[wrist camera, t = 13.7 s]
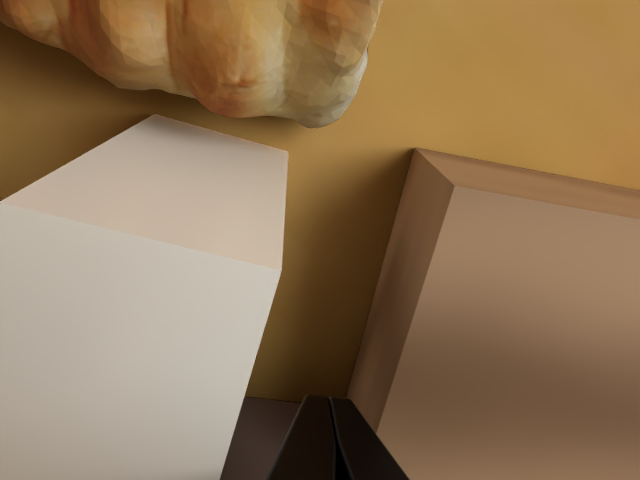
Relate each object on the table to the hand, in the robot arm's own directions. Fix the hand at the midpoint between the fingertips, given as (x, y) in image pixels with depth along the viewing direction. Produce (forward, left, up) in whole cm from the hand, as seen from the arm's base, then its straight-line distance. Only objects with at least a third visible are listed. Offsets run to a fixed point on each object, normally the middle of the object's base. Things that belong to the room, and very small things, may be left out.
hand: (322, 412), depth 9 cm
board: (0, -7, -4) cm, 8 cm away
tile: (+1, +2, -1) cm, 2 cm away
